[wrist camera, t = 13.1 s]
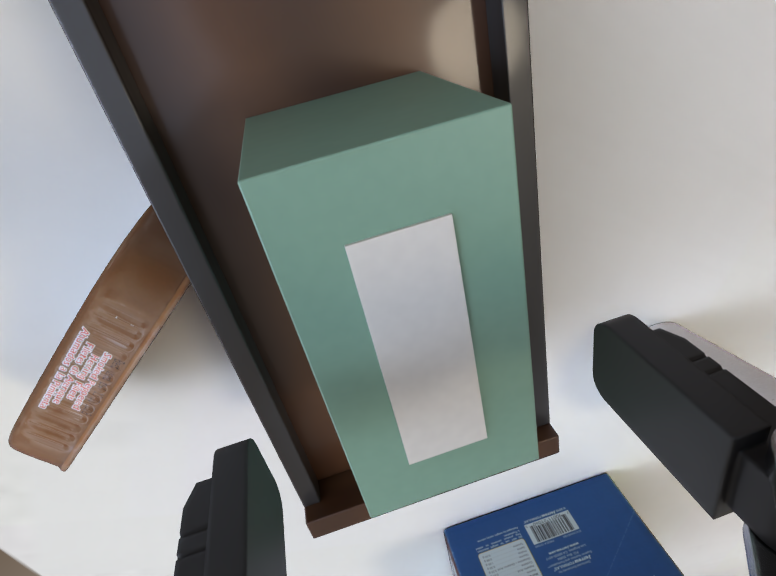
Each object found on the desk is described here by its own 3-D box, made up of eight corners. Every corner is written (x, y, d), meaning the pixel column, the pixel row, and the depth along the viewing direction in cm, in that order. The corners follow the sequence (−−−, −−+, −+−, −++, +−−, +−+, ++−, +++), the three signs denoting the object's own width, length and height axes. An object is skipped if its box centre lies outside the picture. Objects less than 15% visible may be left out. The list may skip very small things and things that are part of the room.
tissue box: (340, 382, 20) (371, 521, 15) (244, 118, 15) (236, 183, 9) (465, 341, 21) (541, 461, 15) (420, 70, 15) (515, 103, 10)
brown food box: (118, 385, 28) (53, 517, 21) (60, 362, 27) (-30, 495, 20) (255, 177, 23) (232, 257, 16) (193, 138, 22) (138, 204, 15)
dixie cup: (722, 333, 37) (861, 429, 28) (642, 410, 39) (749, 520, 31) (663, 287, 33) (804, 381, 25) (579, 375, 35) (681, 489, 27)
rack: (298, 392, 30) (313, 539, 22) (98, -77, 18) (-49, -159, 9) (478, 333, 31) (559, 452, 23) (408, -148, 19) (531, -282, 10)
